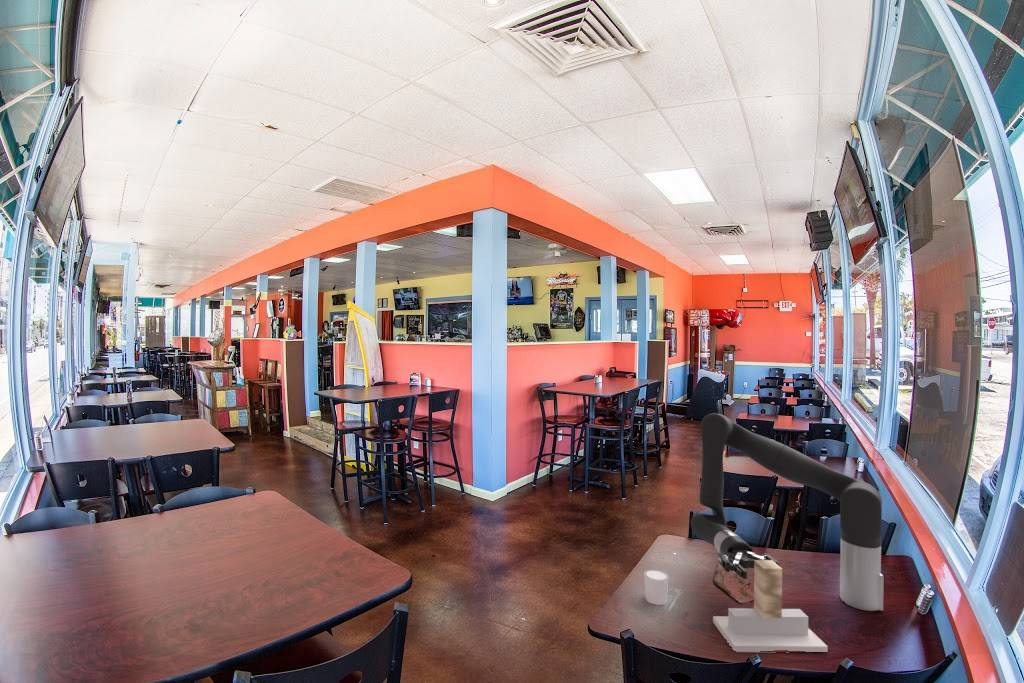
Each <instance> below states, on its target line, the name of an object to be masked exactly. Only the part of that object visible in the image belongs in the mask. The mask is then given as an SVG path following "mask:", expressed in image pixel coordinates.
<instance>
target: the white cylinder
mask: <svg viewBox="0 0 1024 683" xmlns="http://www.w3.org/2000/svg"><path fill="white" fill-rule="evenodd" d="M643 579H644V592H645V594H644V595H645V600H646V601H647V602H648V603H649V604H652V605H656V606H657V605H658V606H661V605H665V604H666V603H667V598H668V592H669V590H668V589H669V588H668V587H669V580H670V577H669V575H668V574H667V573H666V572H664V571H662V570H659V569H647V570H645V571H644V572H643Z"/></svg>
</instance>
